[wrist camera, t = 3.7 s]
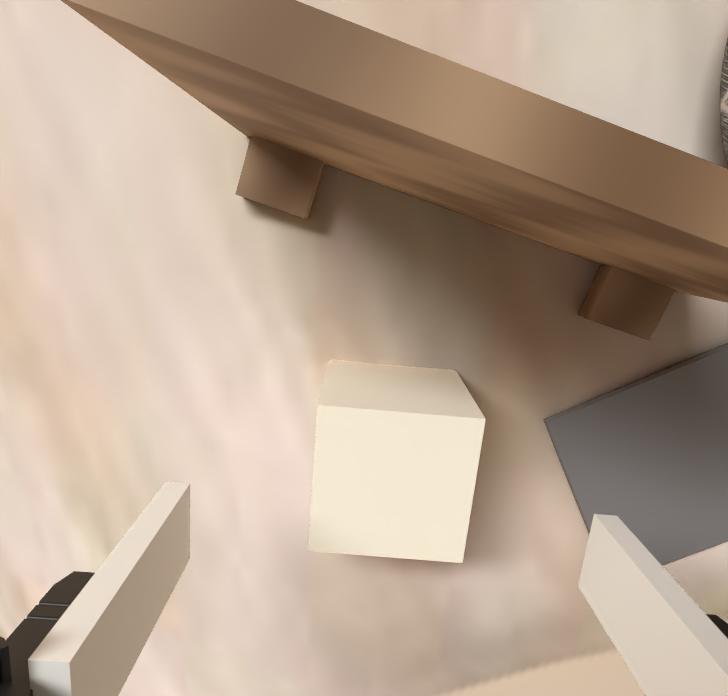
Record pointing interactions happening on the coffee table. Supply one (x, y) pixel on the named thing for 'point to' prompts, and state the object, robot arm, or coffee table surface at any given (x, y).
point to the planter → (724, 102)
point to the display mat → (654, 456)
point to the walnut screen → (439, 142)
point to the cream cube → (394, 462)
